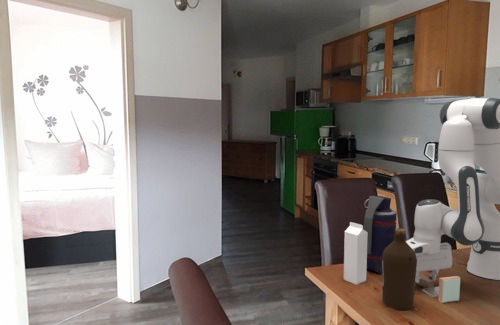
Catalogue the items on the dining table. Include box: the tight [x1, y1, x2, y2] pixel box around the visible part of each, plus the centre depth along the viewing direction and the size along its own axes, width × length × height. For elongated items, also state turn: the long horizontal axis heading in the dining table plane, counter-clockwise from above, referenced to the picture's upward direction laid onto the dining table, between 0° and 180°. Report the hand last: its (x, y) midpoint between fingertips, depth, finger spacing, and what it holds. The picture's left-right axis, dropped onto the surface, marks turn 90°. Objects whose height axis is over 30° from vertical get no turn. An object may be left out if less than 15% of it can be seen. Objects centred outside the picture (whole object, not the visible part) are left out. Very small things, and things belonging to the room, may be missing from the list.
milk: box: [343, 221, 368, 286], centre depth 142 cm, size 6×6×22 cm
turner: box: [416, 272, 439, 298], centre depth 137 cm, size 7×15×3 cm, turn 14°
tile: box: [437, 275, 461, 304], centre depth 126 cm, size 7×2×8 cm, turn 104°
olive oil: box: [381, 227, 417, 311], centre depth 123 cm, size 11×11×25 cm
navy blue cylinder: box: [363, 195, 397, 275], centre depth 151 cm, size 14×12×30 cm
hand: (425, 281), depth 137 cm, fingers open, 5 cm apart
